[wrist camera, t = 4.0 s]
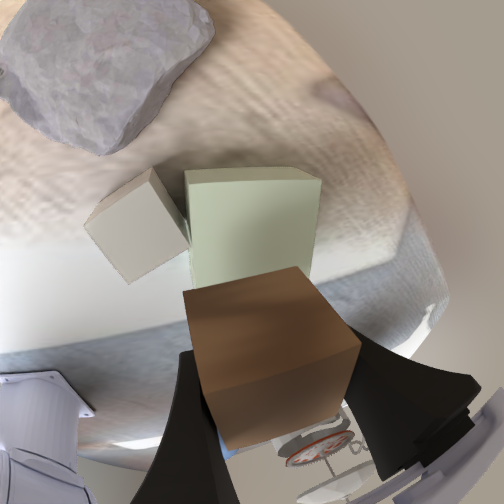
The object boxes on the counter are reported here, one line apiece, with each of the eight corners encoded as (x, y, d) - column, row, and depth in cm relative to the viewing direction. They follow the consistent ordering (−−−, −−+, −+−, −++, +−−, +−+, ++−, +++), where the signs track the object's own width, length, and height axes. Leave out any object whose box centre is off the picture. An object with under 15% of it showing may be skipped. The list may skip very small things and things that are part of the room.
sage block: (190, 270, 19) (197, 305, 16) (183, 169, 16) (188, 184, 13) (284, 258, 21) (307, 288, 18) (291, 166, 18) (321, 179, 14)
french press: (227, 404, 28) (307, 597, 7) (281, 332, 24) (424, 575, 3) (294, 405, 32) (376, 558, 11) (349, 343, 29) (472, 513, 8)
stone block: (133, 157, 16) (227, 30, 12) (110, 185, 12) (233, 14, 8) (10, 88, 11) (85, -35, 7) (-32, 101, 7) (54, -55, 3)
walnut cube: (204, 367, 13) (227, 451, 9) (182, 291, 11) (203, 393, 7) (294, 342, 15) (337, 414, 10) (297, 265, 12) (361, 343, 8)
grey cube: (133, 251, 17) (128, 284, 14) (99, 202, 15) (82, 226, 12) (184, 219, 17) (190, 247, 14) (152, 166, 15) (148, 180, 12)
